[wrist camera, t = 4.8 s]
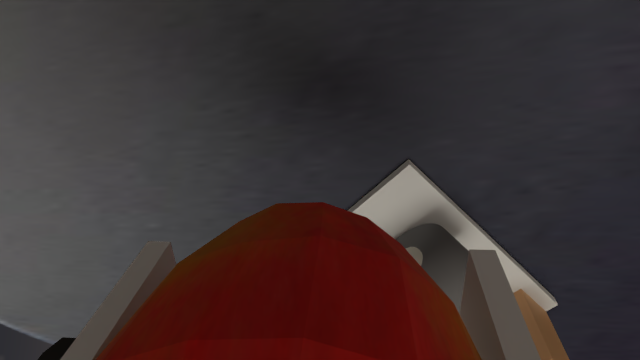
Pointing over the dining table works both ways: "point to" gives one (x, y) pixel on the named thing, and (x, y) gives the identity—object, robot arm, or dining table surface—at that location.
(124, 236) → the dining table surface
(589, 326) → the dining table surface
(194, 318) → the apple
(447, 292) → the wheel
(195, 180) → the dining table surface
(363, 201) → the chassis
